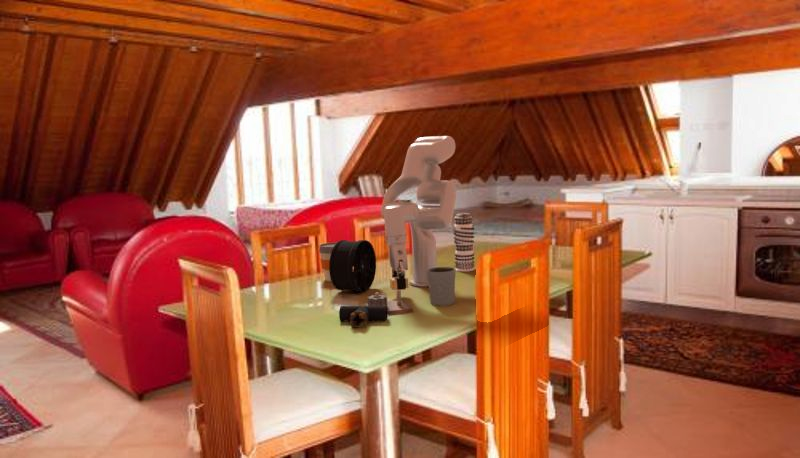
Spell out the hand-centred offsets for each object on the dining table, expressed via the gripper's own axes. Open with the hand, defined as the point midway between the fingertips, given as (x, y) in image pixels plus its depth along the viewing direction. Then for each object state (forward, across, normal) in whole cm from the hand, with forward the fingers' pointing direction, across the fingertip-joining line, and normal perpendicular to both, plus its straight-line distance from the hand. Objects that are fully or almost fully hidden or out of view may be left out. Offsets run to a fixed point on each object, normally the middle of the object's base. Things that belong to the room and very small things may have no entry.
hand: (399, 286), depth 237 cm
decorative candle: (+8, +38, -39) cm, 55 cm away
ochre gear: (+1, 0, 0) cm, 1 cm away
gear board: (+3, -16, +8) cm, 18 cm away
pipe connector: (+3, -29, +20) cm, 36 cm away
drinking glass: (+4, -14, -12) cm, 19 cm away
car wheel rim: (+5, +18, +14) cm, 23 cm away
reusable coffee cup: (+6, +43, +18) cm, 47 cm away
